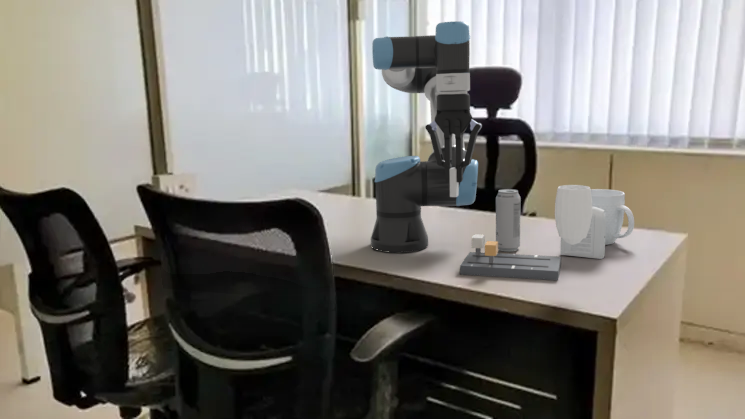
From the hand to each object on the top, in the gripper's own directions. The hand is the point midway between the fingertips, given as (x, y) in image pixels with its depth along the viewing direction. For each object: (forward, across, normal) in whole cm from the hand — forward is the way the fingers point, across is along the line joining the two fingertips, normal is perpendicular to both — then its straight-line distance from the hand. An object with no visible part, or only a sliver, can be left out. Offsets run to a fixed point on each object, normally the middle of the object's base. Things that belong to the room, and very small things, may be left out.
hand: (454, 196), depth 151 cm
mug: (+16, +34, +26) cm, 45 cm away
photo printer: (+16, +28, +12) cm, 35 cm away
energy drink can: (+16, +10, +15) cm, 25 cm away
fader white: (+14, +6, 0) cm, 15 cm away
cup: (+16, +27, -13) cm, 34 cm away
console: (+16, +14, -3) cm, 21 cm away
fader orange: (+14, +10, -6) cm, 18 cm away
